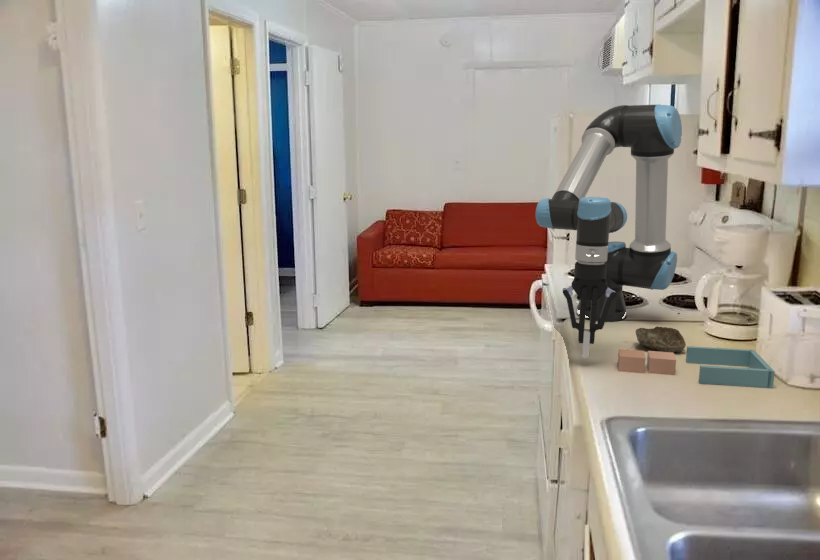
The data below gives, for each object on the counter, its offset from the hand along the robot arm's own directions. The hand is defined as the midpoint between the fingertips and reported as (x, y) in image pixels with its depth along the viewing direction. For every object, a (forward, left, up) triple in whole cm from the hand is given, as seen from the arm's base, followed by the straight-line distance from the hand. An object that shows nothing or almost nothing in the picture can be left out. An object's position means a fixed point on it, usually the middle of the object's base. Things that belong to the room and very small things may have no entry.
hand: (585, 355), depth 178 cm
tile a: (0, +18, -3) cm, 18 cm away
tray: (0, +33, -3) cm, 33 cm away
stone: (-18, +20, -3) cm, 28 cm away
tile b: (0, +11, -3) cm, 11 cm away
